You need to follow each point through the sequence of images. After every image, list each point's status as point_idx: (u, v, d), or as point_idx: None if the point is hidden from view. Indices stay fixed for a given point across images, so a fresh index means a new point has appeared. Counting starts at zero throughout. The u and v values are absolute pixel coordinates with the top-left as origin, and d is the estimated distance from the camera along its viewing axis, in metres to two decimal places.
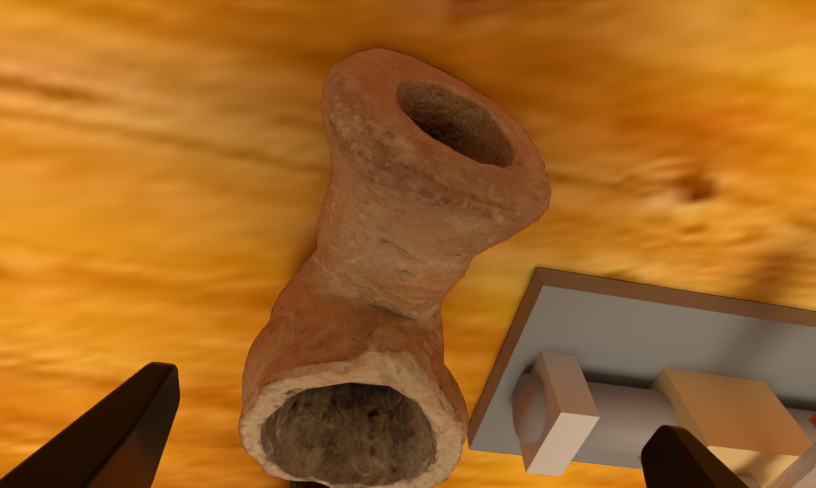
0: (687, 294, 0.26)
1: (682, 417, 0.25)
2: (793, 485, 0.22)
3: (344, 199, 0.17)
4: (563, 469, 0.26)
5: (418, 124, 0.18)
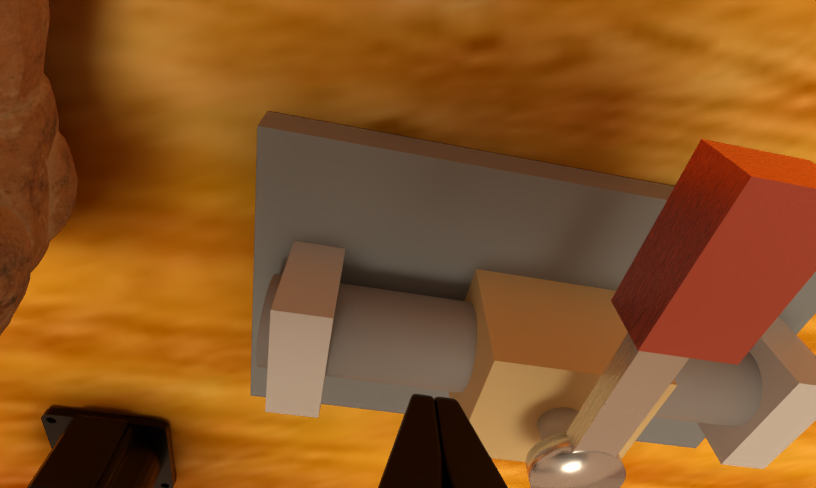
0: (494, 156, 0.18)
1: (481, 329, 0.18)
2: (598, 411, 0.14)
3: None
4: (317, 406, 0.18)
5: None
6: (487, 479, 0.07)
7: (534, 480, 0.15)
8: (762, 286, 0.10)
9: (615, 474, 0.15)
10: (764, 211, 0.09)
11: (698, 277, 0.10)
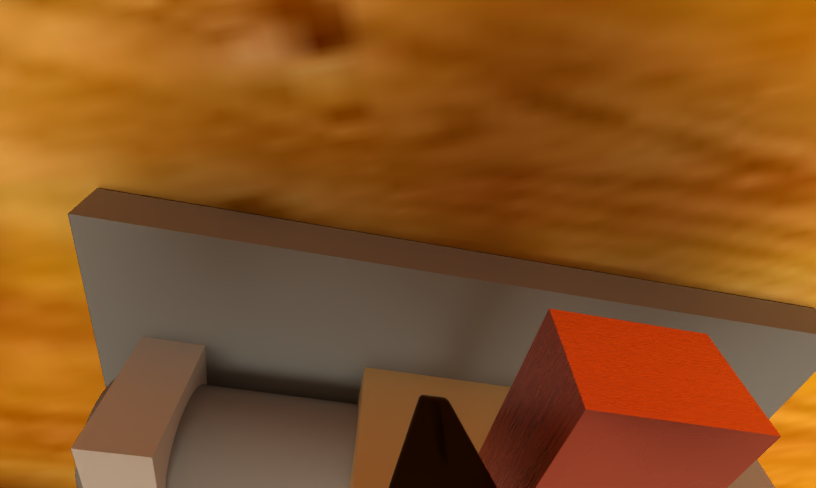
0: (378, 240, 0.15)
1: (354, 454, 0.14)
2: None
3: None
4: None
5: None
6: (476, 478, 0.07)
7: None
8: None
9: None
10: (615, 447, 0.06)
11: None
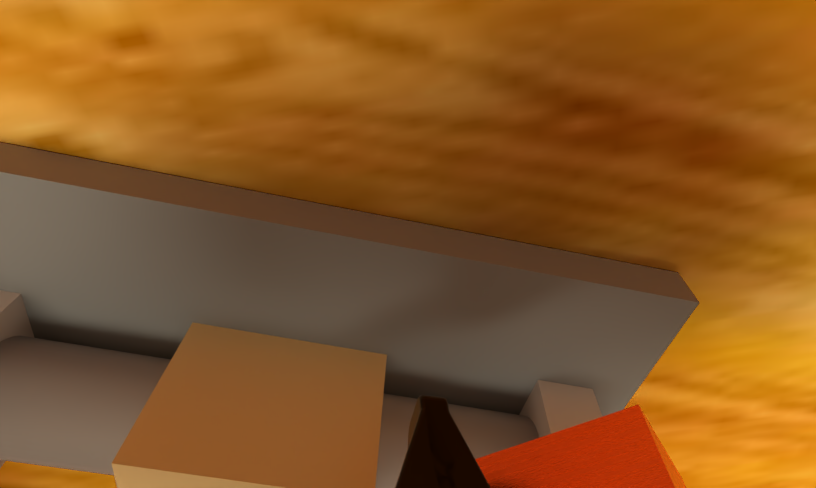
0: (191, 184, 0.14)
1: None
2: None
3: None
4: None
5: None
6: (469, 477, 0.07)
7: None
8: None
9: None
10: None
11: None
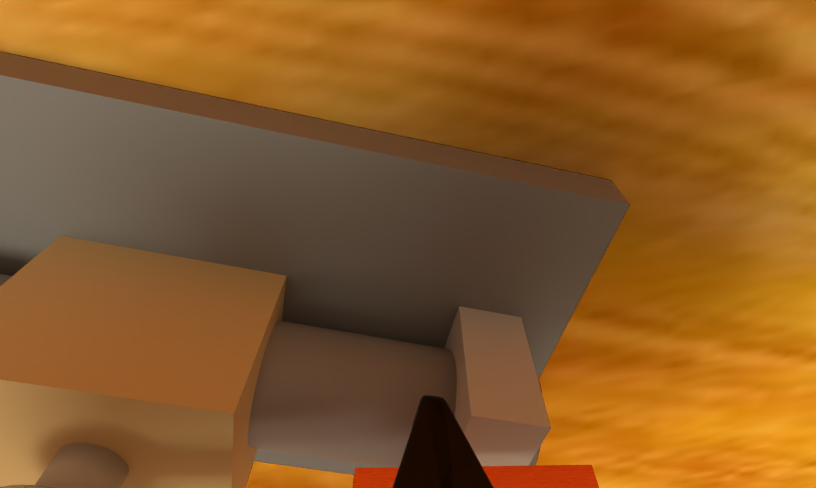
0: (45, 65, 0.12)
1: None
2: None
3: None
4: None
5: None
6: (472, 478, 0.07)
7: None
8: None
9: None
10: None
11: None
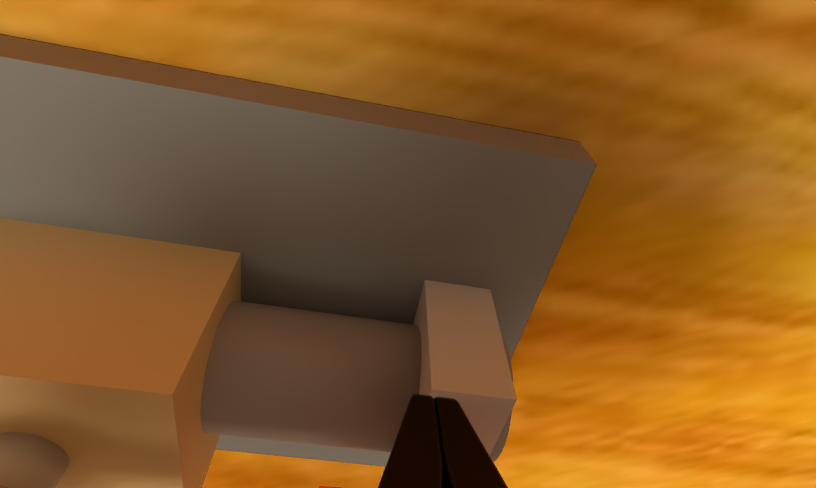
0: None
1: None
2: None
3: None
4: None
5: None
6: (487, 479, 0.07)
7: None
8: None
9: None
10: None
11: None
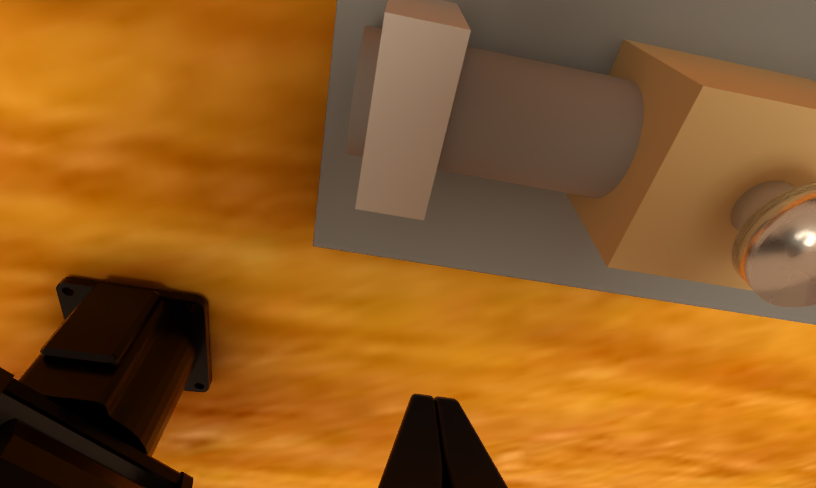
0: None
1: (653, 86, 0.13)
2: None
3: None
4: (425, 200, 0.14)
5: None
6: (487, 479, 0.07)
7: None
8: None
9: None
10: None
11: None
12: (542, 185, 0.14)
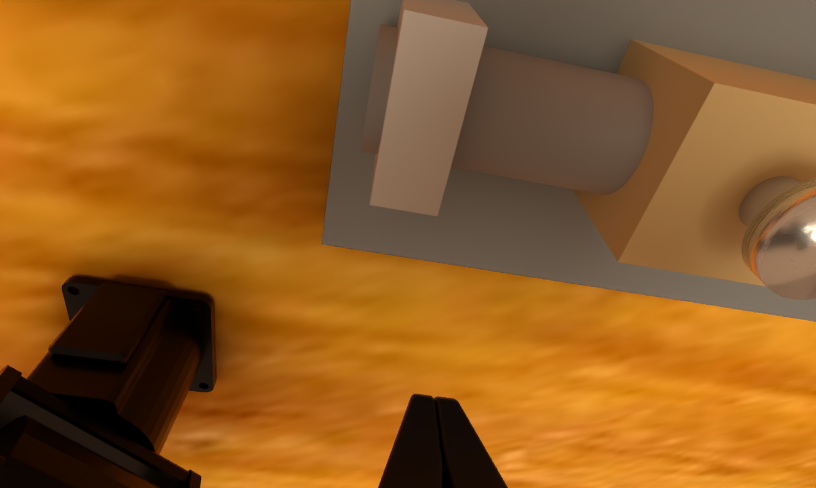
0: None
1: (662, 84, 0.13)
2: None
3: None
4: (439, 196, 0.14)
5: None
6: (487, 479, 0.07)
7: None
8: None
9: None
10: None
11: None
12: (553, 182, 0.15)
